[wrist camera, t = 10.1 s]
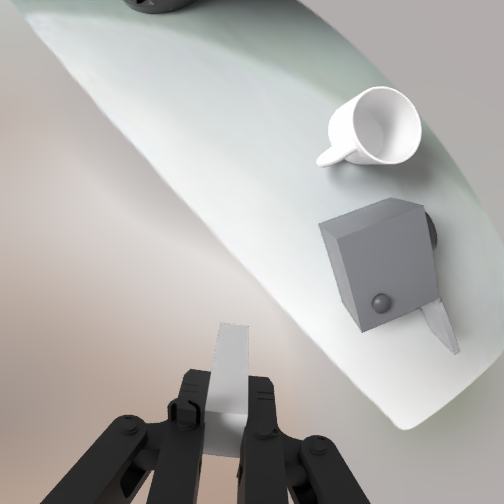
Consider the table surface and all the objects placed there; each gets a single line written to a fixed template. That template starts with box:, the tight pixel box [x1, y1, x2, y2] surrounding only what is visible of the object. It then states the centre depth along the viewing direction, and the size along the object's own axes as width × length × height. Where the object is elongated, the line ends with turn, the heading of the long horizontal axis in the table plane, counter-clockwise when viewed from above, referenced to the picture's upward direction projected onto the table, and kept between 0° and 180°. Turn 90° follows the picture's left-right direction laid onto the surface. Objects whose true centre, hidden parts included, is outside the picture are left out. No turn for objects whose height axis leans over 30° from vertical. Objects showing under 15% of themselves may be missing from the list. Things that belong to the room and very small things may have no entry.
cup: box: [316, 86, 422, 167], centre depth 33 cm, size 8×12×10 cm
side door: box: [421, 297, 460, 355], centre depth 39 cm, size 2×12×8 cm, turn 36°
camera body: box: [318, 198, 439, 333], centre depth 37 cm, size 12×13×10 cm
